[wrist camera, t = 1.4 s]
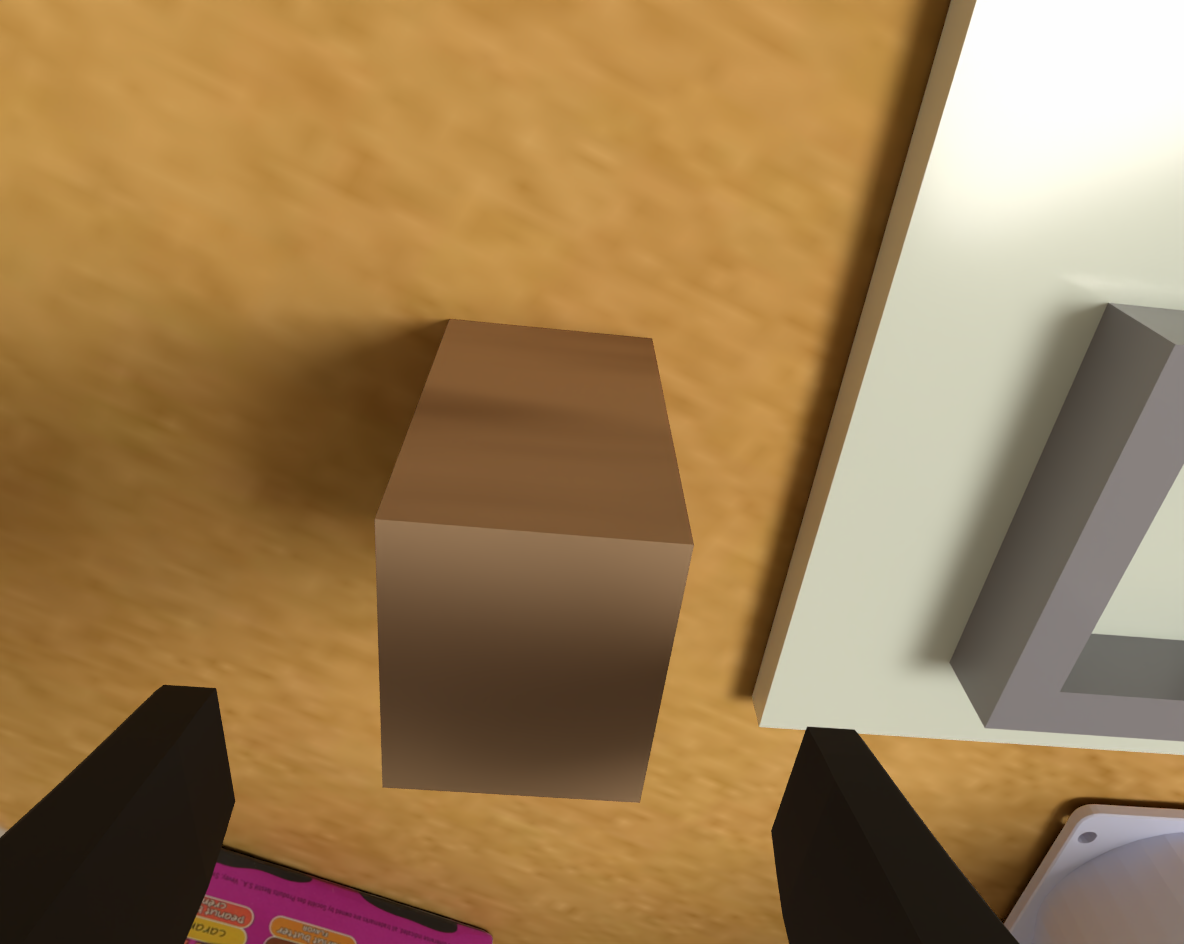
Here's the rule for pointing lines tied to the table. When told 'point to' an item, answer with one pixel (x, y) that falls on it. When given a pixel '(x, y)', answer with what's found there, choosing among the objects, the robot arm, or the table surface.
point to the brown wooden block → (530, 567)
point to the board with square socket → (1011, 408)
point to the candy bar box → (309, 911)
